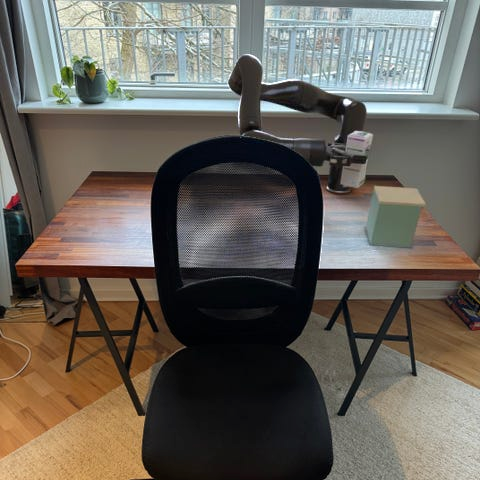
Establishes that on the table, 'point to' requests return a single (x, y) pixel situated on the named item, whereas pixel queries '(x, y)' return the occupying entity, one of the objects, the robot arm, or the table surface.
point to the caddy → (391, 223)
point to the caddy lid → (399, 196)
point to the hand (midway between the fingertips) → (364, 155)
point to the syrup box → (357, 146)
